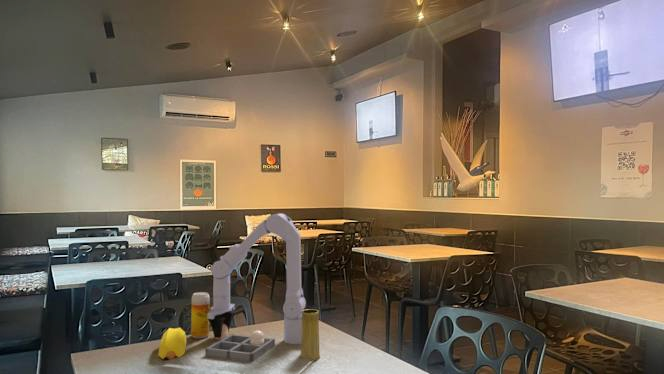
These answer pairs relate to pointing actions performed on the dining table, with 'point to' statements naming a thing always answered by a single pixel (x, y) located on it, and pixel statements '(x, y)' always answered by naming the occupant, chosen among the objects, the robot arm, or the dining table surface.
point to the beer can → (200, 315)
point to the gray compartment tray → (238, 348)
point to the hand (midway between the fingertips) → (221, 335)
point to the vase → (310, 334)
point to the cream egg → (257, 338)
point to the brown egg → (223, 332)
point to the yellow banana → (172, 343)
